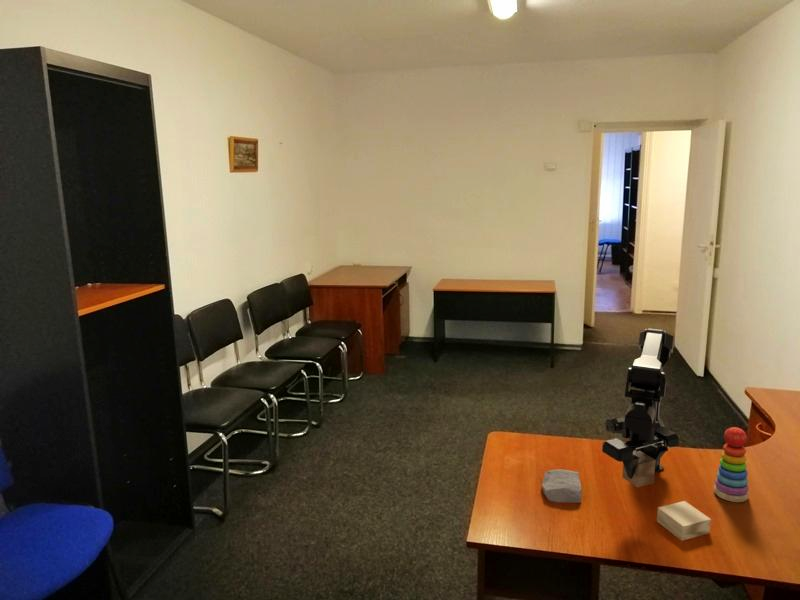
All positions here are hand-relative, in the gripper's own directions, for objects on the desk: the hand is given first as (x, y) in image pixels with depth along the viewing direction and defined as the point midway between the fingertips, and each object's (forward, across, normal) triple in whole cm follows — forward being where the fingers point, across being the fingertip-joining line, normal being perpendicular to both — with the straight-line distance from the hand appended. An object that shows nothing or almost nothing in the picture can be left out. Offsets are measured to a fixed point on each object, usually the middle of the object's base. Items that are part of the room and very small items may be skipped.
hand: (638, 475), depth 141 cm
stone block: (+12, +9, -17) cm, 23 cm away
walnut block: (+1, 0, 0) cm, 1 cm away
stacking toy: (+12, -29, +3) cm, 31 cm away
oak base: (+12, -7, +8) cm, 16 cm away
